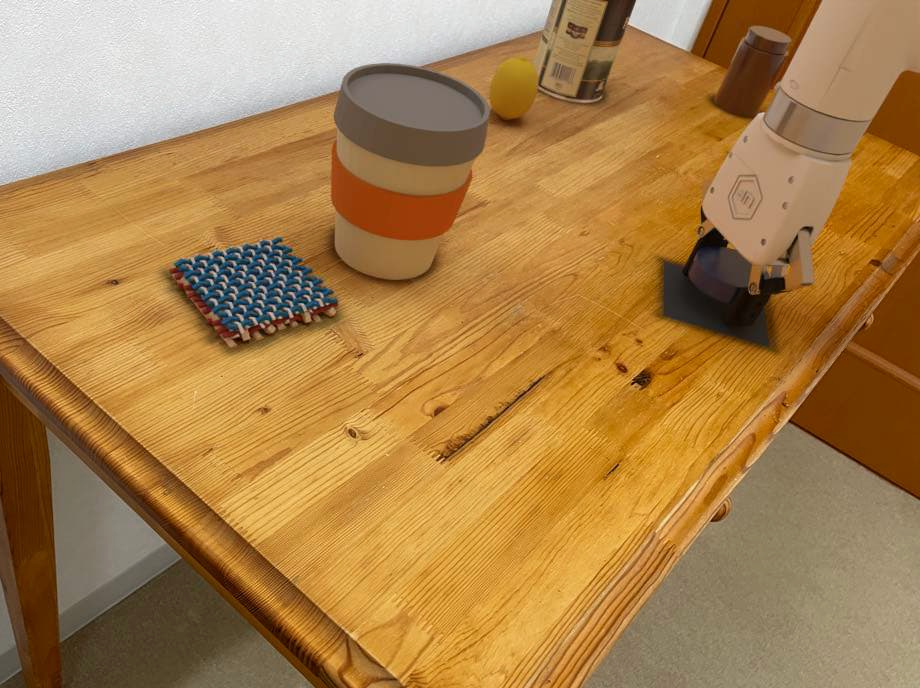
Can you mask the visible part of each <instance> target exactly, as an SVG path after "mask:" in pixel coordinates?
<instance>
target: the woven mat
mask: <svg viewBox="0 0 920 688" xmlns="http://www.w3.org/2000/svg"><path fill="white" fill-rule="evenodd" d="M283 241H284V239H283V238H282V237H280V236H279V237H275V238H274V239H268V240H265V239H263V238H260V239H259V242H252V244H248V243H246V242H242V244H243V246H241V245H240V246H239V245H238V246H235V248H234V247H232V246H228V248H227V249H219V250H217V249H216V248H215V249H212V253H211V252H207V253H205V255H203V254H200V253H195V257H194V256H191V257H190V256H189V257H187V258H185V257H181V258H180V259H178V260H176V261H175V262H174V263H173V266H174V267H172V268H170V269H169V274H170V275H171V276H172V278H173V279H174V282H176V286H177V288H179V289H181V290H183V291H185V295H186V296H187V298H188V299H189V300H191V302H192V303H193V304H194V305H195V307H196V308H197V309H198V310H199V312H200V313H201V314H202V316H204V317H205V319H206V320H205V322H206V323H207V324H208V325H212V326H213V329H214V330H215V331H216V333H217V334H218V335H219V336H220V338H221V339H222V340H223V341H224V342H225V343H226V345H227V346H228V347H229V348H230V349H232V348H236V347H238V344H237V343H236V341H235V340H234V339H237V338H238V339H240V340H242V341H243V342H245V341H248V340H251V336H252V337H253V338H254V339H255V341H260V340H262V339H264V336H263V335H262V333H261V332H260V330H262V331H263V332H264V333H266V334H269V335H271V334H273V333H274V332H275V331H276V330H278V331H279V332H280V331H283V330H286V329H287V326H286V325H287V324H288V325H289V326H290V327H291V328H293V327H294V328H295V327H298V326H299V323H298V322H297V321H299V322H302V323H303V322H304V323H303V324H307V323H310V322H312V319H313V320H314V321H315V322H316V323H320V322H323V319H322V318H321V317H320V316H319V313H323V314H324V315H326V316H328V317H330V318H332V317H333V316H334V315H335V314H336V313H337V311H336V309H335V308H337V307H338V306H339V300H338V298H337V297H333V298H332V297H329V296H331V295H333V294H334V293H335V291H334V290H333V289H332V288H330V289H328V288H327V287H326V286H322V285H323V283H324V280H323V279H322V277H321V278H317V277H316V275H313V276H311V275H309V274H312V273H313V272H314V269H313V268H312V267H306V265H299V263H300V264H301V263H302V262H303V261H304V259H303V258H302V257H297V256H296V255H295V254H294V255H292V254H291V253H293V251H294V249H293V247H287V246H286V245H285V244H284V245H279V243H283ZM297 264H298V265H297Z"/></svg>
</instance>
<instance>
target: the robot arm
mask: <svg viewBox="0 0 920 688" xmlns="http://www.w3.org/2000/svg"><path fill="white" fill-rule="evenodd" d="M791 59H792V60H791V61H790V63H789V65H788V66H787V69H786V71H785V73H784V75H783V77H782V78H781V80H780V81H778V82H777V83H775V85H774V86H773V90H772V92H773V96H772V98H771V100H770V101H769V103H768V106H767V108H766V110H765V112H759V114H758V115H757V116H756V117H753V119H752V120H751V121H750V122H749V123H748V125H747V126H746V128H745V129H744V130H743V132H742V133H741V134H740V135H739V137H738V138H737V140H736V142H735V143H734V145H733V146H732V148H731V149H730V151H729V152H728V154H727V156H726V157H725V158H724V161H723V163H722V164H721V166H720V168H719V170H718V171H717V172H716V175H715V177H712V178H709V179H704V181H703V182H702V186H701V202H702V204H701V205H700V224H699V226H698V227H697V230H696V235H697V237H698V239H697V240H696V242H695V245H694V246H693V248H692V251H691V252H690V254H689V257H688V258H687V260H686V262H685V264H684V266H683V267H684V268H683V270H682V274H683V275H684V276H685V277H689V274H688V270H689V268H690V266H691V264H692V262H693V260H694V258H695V256H696V254H697V252H698V251H699V250H700V249H701V248H703V247H707V246H723V247H728V245H729V244H730V245H731V246H732V247H733V249H735V250H737V251H738V252H739V253H740V254H741V255H742V256H743V257H744V258H745V259H746V260H747V261H748V262H749V263H751V264H752V268H751V273H750V279H749V284H748V287H742V288H741V289H740V290H739V291H738V293H737V295H736V297H735V298H734V300H733V302H732V304H731V305H730V307H729V309H728V311H727V312H726V314H725V316H724V318H723V323H724V324H725V325H726V326H750V325H752V324H754V323H755V321H756V320H757V318H758V316H759V315H760V313H761V312H762V310H763V308H766V307H765V306H766V305H767V304H768V301H770V298H771V297H772V296H773V295H774V296H775V295H776V296H777V295H780V294H784V293H789V292H793V291H795V290H799V289H803V288H806V287H810V286H812V285H813V284H814V283H815V271H814V262H813V253H812V247H813V246H814V244H815V242H816V241H817V239H818V237H819V235H821V232H822V230H823V229H824V227H825V225H826V223H827V221H828V219H829V217H830V216H831V213H832V211H833V209H834V207H835V205H836V203H837V202H838V199H839V196H840V195H841V192H842V190H843V187H844V185H845V182H846V180H847V176H848V174H849V172H850V169H851V166H852V163H853V160H852V159H851V158H850V157H851V156H852V154H853V153H854V151H855V149H856V147H857V146H858V144H859V143H860V141H861V139H862V137H863V136H864V134H865V133H866V131H867V130H868V128H869V126H870V124H871V123H872V121H873V120H874V118H875V116H876V115H877V113H878V111H879V109H880V108H881V106H882V105H883V102H885V100H886V98H887V97H888V95H889V93H890V91H891V89H893V86H894V84H895V83H896V81H897V80H898V78H899V77H900V75H901V74H902V73H904V72H905V71H909V72H914V73H917V74H920V0H821V3H820V4H819V7H818V8H817V10H816V11H815V14H814V15H813V18H812V20H811V21H810V24H809V26H808V28H807V30H806V32H805V34H804V36H803V38H802V39H801V42H800V43H799V46H798V47H797V49H796V51H795V53H794V55H793V57H792V58H791ZM788 265H789V272H788V273H787V269H788ZM767 267H771V270H770V274H769V276H770V279H765V280H764V278H765V272H766V270H767Z"/></svg>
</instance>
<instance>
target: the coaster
mask: <svg viewBox="0 0 920 688" xmlns="http://www.w3.org/2000/svg"><path fill="white" fill-rule="evenodd" d="M683 268H684V266H682V265H679V264H675V263H672V262H669V261H666V260H665V261H663V304H662V306H663V307H662V315H663V317H666V318H669V319H673V320H674V321H675V320H676V321H679V322H682V323H685V324H688V325H693V326H695V327H699V328H702V329H705V330H708V331H712V332H715V333H719V334H721V335H725V336H729V337H732V338H736V339H739V340H742V341H745V342H748V343H752V344H754V345H755V344H756V345H759V346H762V347H765V348H768V349H769V348H770V349H771V344H770V337H769V330H768V322H767V316H766V309H765V308H766V307H764V308H763V310H762V312H761V313H760V315H759V316H758V318H757V320H756V321H755V323H754V324H752V325H750V326H726V325H725V324H724V323H723V318H724V316H725V314H726V312H727V311H728V309H729V307H730V305H731V304H728V303H724V302H721V301H719V300H716V299H714V298H712V297H710V296H708V295H706V294H705V293H703V292H702V291H701V290H699V289H698V288H697V287H696V286H695V285H694V284H693V283H692V281H691V280H690V278H689V277H685V276H684V275H683V274H682V270H683Z"/></svg>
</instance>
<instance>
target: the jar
mask: <svg viewBox="0 0 920 688" xmlns="http://www.w3.org/2000/svg"><path fill="white" fill-rule="evenodd" d="M747 30H748V32H747V33H746V36H743V37H742V38H741V39H740V41H739V44H738V46H737V48H736V50H735V53H734V55H733V57H732V59H731V61H730V64H729V66H728V67H727V70H726V72H725V75H724V76H723V78H722V81H721V83H720V86H719V87H718V89H717V92H716V94H715V96H714V98H713V103H714V104H715V106H717V107H718V108H720V109H721V110H722V111H725V112H726V113H729V114H731V115H735V116H738V117H741V118H750V119H751V118H755V117H756V116H757V115H758V114H759V113H761V110H762V108H763V105H764V104H765V102H766V100H767V98H768V96H769V94H770V92H771V90H772V88H773V87H774V84H775V82H776V80H777V78H778V76H779V73H780V72H781V70H782V68H783V66H784V64H785V62H786V60H787V58H788V56H789V51H788V49H790V47H791V43H792V38H791V37H790V36H789V35H787V34H786V33H784V32H782V31H781V30H780V31H779V30H778V29H775V28H771V27H768V26H763V25H752V26H750V27H748V29H747Z"/></svg>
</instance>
